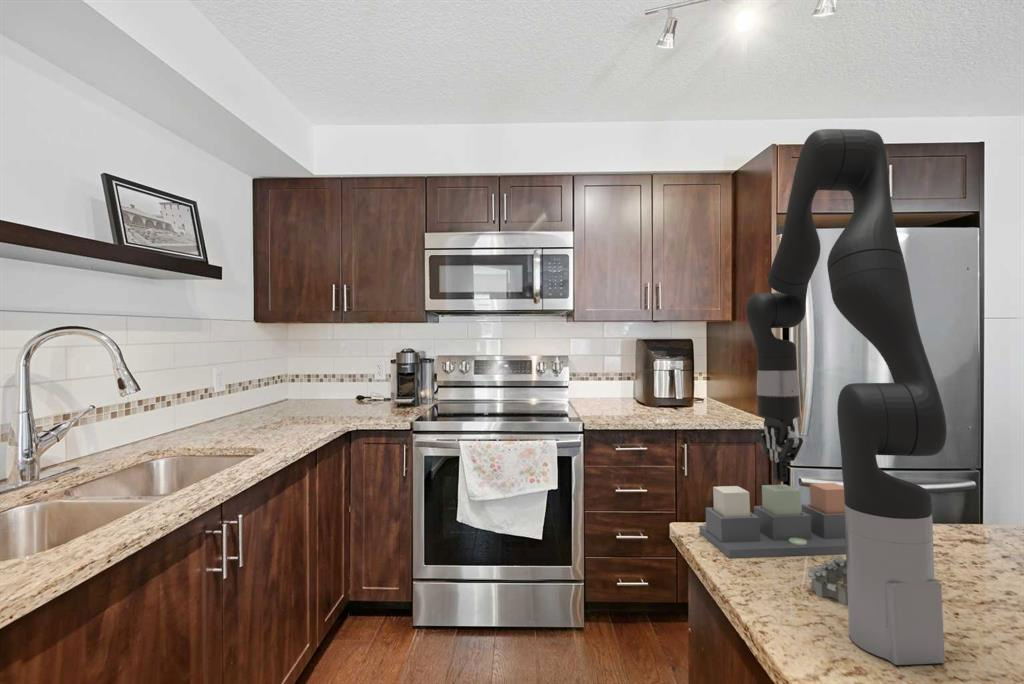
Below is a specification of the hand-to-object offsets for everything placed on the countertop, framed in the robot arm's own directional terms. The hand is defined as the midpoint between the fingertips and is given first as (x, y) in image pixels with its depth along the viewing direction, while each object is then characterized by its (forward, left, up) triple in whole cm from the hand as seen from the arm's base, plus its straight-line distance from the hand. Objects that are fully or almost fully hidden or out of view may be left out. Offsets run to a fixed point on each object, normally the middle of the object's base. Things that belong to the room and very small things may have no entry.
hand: (780, 480), depth 106 cm
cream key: (0, +10, -7) cm, 13 cm away
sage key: (0, 0, -7) cm, 7 cm away
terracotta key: (0, -10, -7) cm, 12 cm away
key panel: (-1, 0, -12) cm, 12 cm away
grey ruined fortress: (-22, +2, -12) cm, 25 cm away
